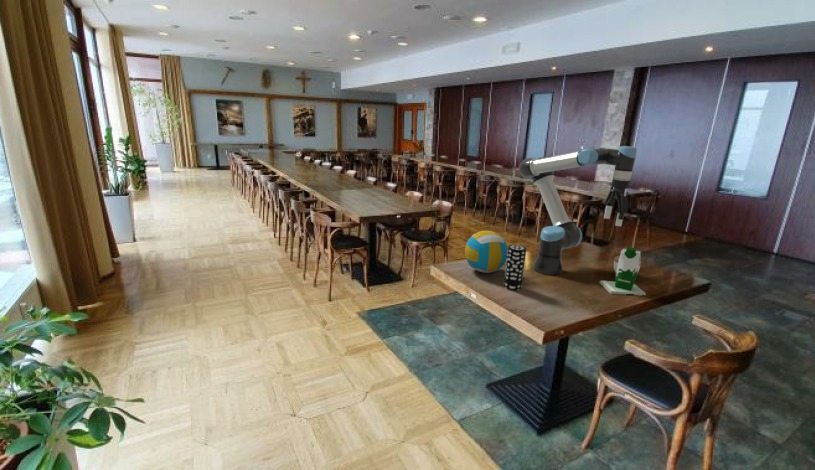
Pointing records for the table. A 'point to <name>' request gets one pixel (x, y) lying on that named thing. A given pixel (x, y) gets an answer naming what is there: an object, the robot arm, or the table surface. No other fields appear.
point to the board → (614, 290)
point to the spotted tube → (514, 267)
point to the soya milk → (627, 268)
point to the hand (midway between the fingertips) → (612, 222)
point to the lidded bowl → (617, 263)
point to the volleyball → (486, 251)
